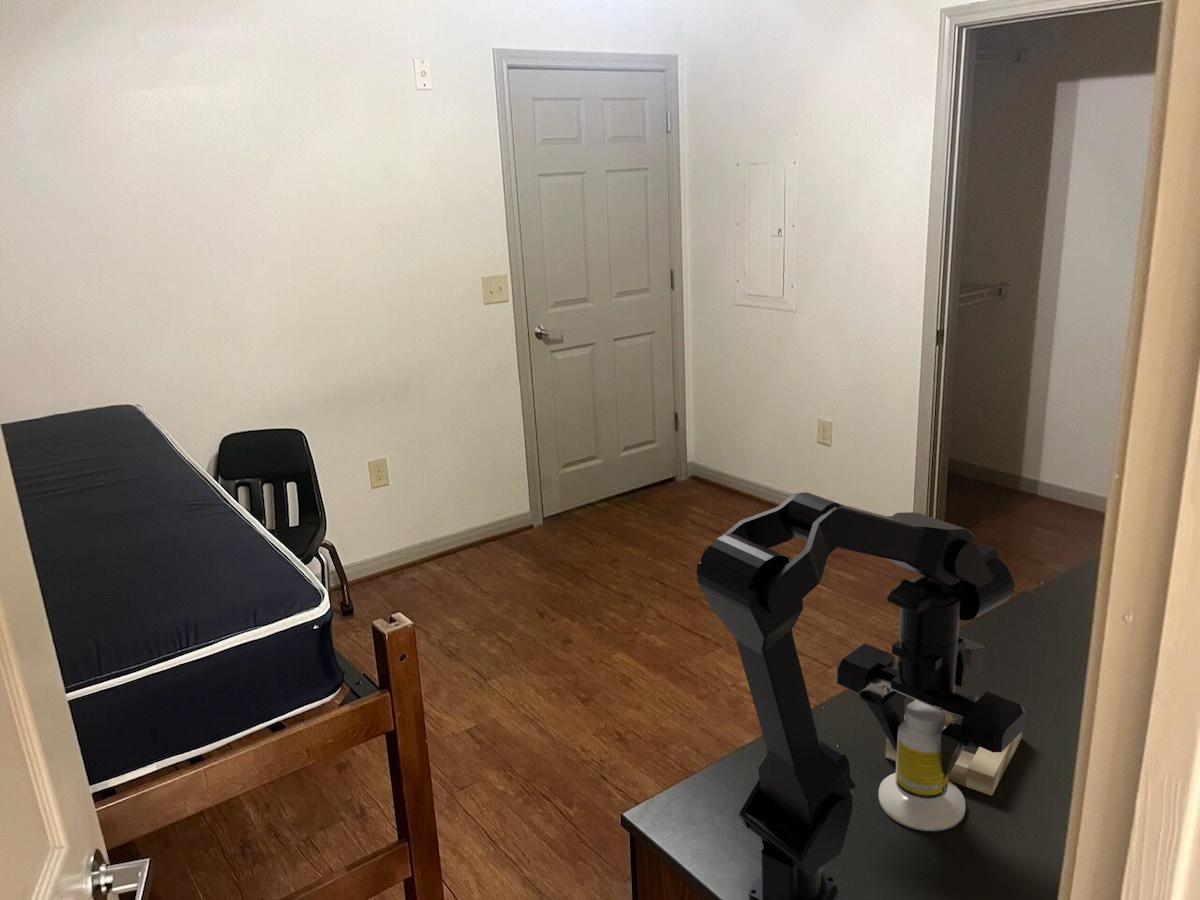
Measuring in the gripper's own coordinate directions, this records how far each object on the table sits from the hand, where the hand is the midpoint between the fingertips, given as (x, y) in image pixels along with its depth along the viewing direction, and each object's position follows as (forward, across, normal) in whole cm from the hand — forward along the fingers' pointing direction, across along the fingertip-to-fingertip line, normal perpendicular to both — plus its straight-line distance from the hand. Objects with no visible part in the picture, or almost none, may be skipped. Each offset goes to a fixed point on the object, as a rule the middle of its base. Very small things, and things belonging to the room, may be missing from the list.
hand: (922, 760), depth 97 cm
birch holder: (+5, +2, -11) cm, 12 cm away
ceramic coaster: (+5, 0, 0) cm, 5 cm away
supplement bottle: (+4, 0, 0) cm, 4 cm away
